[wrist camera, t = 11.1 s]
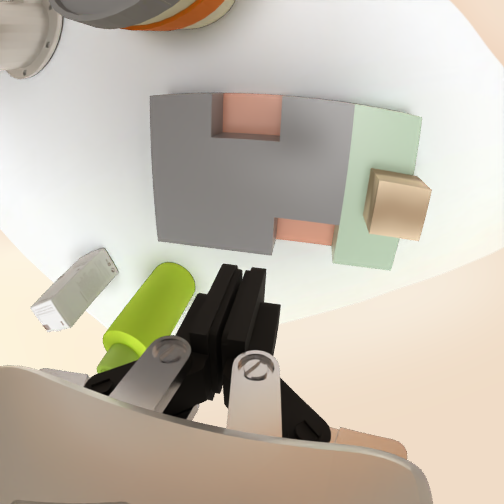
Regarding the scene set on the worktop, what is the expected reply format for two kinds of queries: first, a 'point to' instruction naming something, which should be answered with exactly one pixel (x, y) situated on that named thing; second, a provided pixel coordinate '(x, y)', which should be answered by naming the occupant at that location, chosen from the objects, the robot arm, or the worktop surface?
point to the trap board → (274, 171)
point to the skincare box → (74, 291)
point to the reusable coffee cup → (143, 13)
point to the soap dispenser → (148, 315)
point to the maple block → (395, 204)
